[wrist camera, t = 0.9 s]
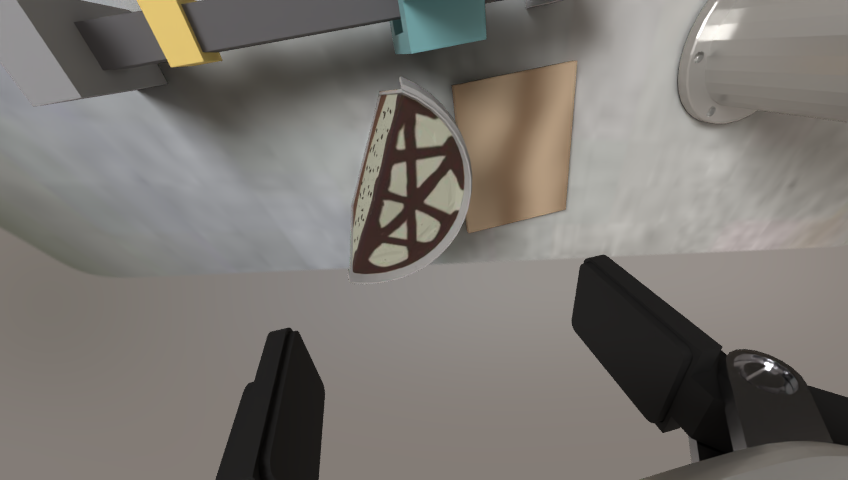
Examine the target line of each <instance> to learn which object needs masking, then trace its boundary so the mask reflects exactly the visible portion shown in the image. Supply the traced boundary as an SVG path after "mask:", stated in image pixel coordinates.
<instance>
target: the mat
mask: <svg viewBox="0 0 848 480" xmlns="http://www.w3.org/2000/svg"><path fill="white" fill-rule="evenodd" d="M576 69H577V61H569V62H564V63H559V64H554V65H549V66H544V67H539V68H534V69H529V70H525V71H520V72H515V73H510V74H505V75H500V76H495V77H490V78H485V79H481V80H476V81H471V82H466V83H461V84H456V85H452V93H453V102H454V112H455V121H456V124H457V126H458V128H459V130H460V132H461V134H462V136H463V139H464V141H465V144H466V147H467V151H468V154H469V157H470V161H471V168H472V193H471V199H470V204H469V208H468V211H467V214H466V226H467V231H468V233H472V232H476V231H480V230H484V229H488V228H492V227H496V226H500V225H505V224H509V223H513V222H517V221H521V220H525V219H529V218H533V217H537V216H541V215H545V214H549V213H553V212H557V211H561V210H565V209H566V196H567V184H568V171H569V158H570V146H571V133H572V120H573V107H574V95H575V82H576Z"/></svg>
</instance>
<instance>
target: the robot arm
mask: <svg viewBox="0 0 848 480" xmlns="http://www.w3.org/2000/svg"><path fill="white" fill-rule="evenodd" d="M678 87H679V94H680V98H681V102H682V104H683V106H684V107H685V109H686V111H687V112H688V113H689V114H690V115H691V116H693V117H694V118H696V119H698V120H700V121H703V122H709V123H714V124H726V123H731V122H735V121H738V120H741V119H743V118H745V117H748V116H750V115H751V114H753V113H755V112H756V111H758V110H760V111H767V112H774V113H782V114H789V115H797V116H804V117H812V118H819V119H827V120H834V121H842V122H848V0H708V2H707V3H706V4H705V6H704V7H703V9H702V10H701V12H700V13H699V15H698V17H697V19H696V21H695V23H694V25H693V26H692V28H691V30H690V33H689V35H688V38H687V40H686V43H685V45H684V49H683V52H682V56H681V60H680V65H679V74H678ZM572 326H573V328H574V330H575V332H576V333H577V334H578V336H579V337H580V338H581V339H582V340H583V341H584V343H585V344H586V345H587V347H588V348H589V349H590V350H591V352H592V353H593V354H594V355H595V357H596V358H597V359H598V360H599V361H600V363H601V364H602V365H603V366H604V368H605V369H606V370H607V371H608V372H609V374H610V375H611V376H612V377H613V379H614V380H615V381H616V382H617V384H618V385H619V386H620V387H621V388H622V390H623V391H624V392H625V393H626V395H627V396H628V397H629V398H630V400H631V401H632V402H633V403H634V405H635V406H636V407H637V408H638V410H639V411H640V412H641V413H642V414H643V416H644V417H645V418H646V419H647V420H648V421H649V422H651V423H655V424H656V425H657V427H658V428H659V429H660V430H661V431H662V433H664V432H668V431H671V430H675V429H678V428H680V427H681V428H682V429H683V430H684V431H685V432H686V433H687V434H688V436H689V437H688V438H689V446H690V454H691V463H692V464H689V465H685V466H682V467H679V468H675V469H672V470H669V471H666V472H663V473H660V474H656V475H653V476H650V477H646V478H643V479H640V480H848V397H844V396H841V395H838V394H834V393H831V392H828V391H825V390H821V389H818V388H815V387H811V386H808V385H807V384H806V382H805V381H804V379H803V378H802V376H801V375H800V374H799V373H798V372H796V371H795V370H794V369H793V368H792V367H791V366H789V365H787V364H786V363H784V362H783V361H781V360H779V359H777V358H775V357H773V356H771V355H768V354H765V353H762V352H758V351H755V350H748V349H739V350H734V351H732V352H729V354H728V355H726V354H725V353H724V352H723V351H721V349H722V346H721V345H720V344H718V343H717V342H716V341H714V340H713V339H712V338H711V337H709V336H708V335H707V334H706V333H704V332H703V331H702V330H700V329H699V328H698V327H697V326H695V325H694V324H693V323H692V322H690V321H689V320H688V319H687V318H685V317H684V316H683V315H681V314H680V313H679V312H678V311H676V310H675V309H674V308H672V307H671V306H670V305H669V304H667V303H666V302H665V301H664V300H662V299H661V298H660V297H658V296H657V295H656V294H654V293H653V292H652V291H651V290H650V289H648V288H647V287H646V286H644V285H643V284H642V283H641V282H639V281H638V280H637V279H636V278H634V277H633V276H632V275H630V274H629V273H628V272H627V271H625V270H624V269H623V268H622V267H620V266H619V265H618V264H616V263H615V262H614V261H613V260H611V259H610V258H609V257H607V256H606V255H599V256H595V257H591V258H587V259H585V260H584V263H583V264H582V265H581V266H580V270H579V277H578V283H577V289H576V296H575V302H574V308H573V315H572ZM324 400H325V390H324V385H323V383H322V380H321V379H320V376H319V374H318V372H317V370H316V368H315V366H314V363H313V361H312V359H311V357H310V355H309V353H308V351H307V349H306V346H305V344H304V342H303V340H302V338H301V336H300V334H299V332H298V331H292V329H291V328H285V329H281V330H276V331H272V332H270V333H269V334H268V336H267V340H266V343H265V346H264V350H263V353H262V356H261V360H260V363H259V367H258V370H257V373H256V377H255V380H254V382H251V383H249V384H248V385H247V386H246V387H245V389H244V392H243V395H242V398H241V401H240V404H239V407H238V411H237V414H236V417H235V420H234V423H233V427H232V429H231V433H230V436H229V439H228V442H227V445H226V448H225V452H224V454H223V458H222V461H221V464H220V467H219V470H218V473H217V476H216V480H318V479H319V465H320V453H321V439H322V426H323V413H324Z"/></svg>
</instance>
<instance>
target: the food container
mask: <svg viewBox="0 0 848 480" xmlns="http://www.w3.org/2000/svg"><path fill="white" fill-rule="evenodd" d="M399 81H400V84H401V88H400V89H396V90H388V91H380V92H379V96H378V100H377V104H376V108H375V112H374V116H373V121H372V125H371V129H370V133H369V137H368V141H367V145H366V149H365V153H364V157H363V161H362V165H361V169H360V173H359V177H358V181H357V185H356V189H355V193H354V197H353V201H352V210H351V241H350V269H348V280H349V283H354V284H376V283H383V282H389V281H393V280H396V279H400V278H403V277H406V276H408V275H410V274H412V273H415V272H417V271H419V270H420V269H422V268H423V267H425V266H427V265H428V264H430V263H431V262H432V261H434V260H435V259H436V258H437V257H439V256H440V255H441V254H442V253H443V252H444V251H445V249H446V248H447V247H448V246H449V245H450V244H451V242H452V241H453V240H454V238H455V237H456V235H457V234H458V232H459V230H460V228H461V226H462V224H463V222H464V220H465V217H466V214H467V211H468V208H469V204H470V199H471V193H472V168H471V161H470V157H469V154H468V151H467V147H466V144H465V141H464V139H463V136H462V134H461V132H460V130H459V128H458V126H457V124H456V122H455V120H454V119H453V118H452V116H451V115H450V114H449V112H448V111H447V110H446V108H445V107H444V106H443V105H442V104H441V103H440V102H439V101H438V100H437V99H436V98H435V97H434V96H433V95H432V94H431V93H429V92H428V91H426V90H425V89H423V88H422V87H420V86H419V85H417V84H416V83H414V82H412V81H410V80H408V79H405V78H403V77H401V76H400V78H399Z"/></svg>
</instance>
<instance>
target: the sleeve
mask: <svg viewBox="0 0 848 480" xmlns="http://www.w3.org/2000/svg"><path fill="white" fill-rule="evenodd" d="M398 4H399V10H400V16H401V19H398V20H392V21H390V27H391V32H392V38H393V44H394V49H395V54H413V53H418V52H423V51H428V50H434V49H439V48H444V47H449V46H454V45H459V44H465V43H470V42H475V41H480V40H485V39H487V38H486V18H485V0H398Z"/></svg>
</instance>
